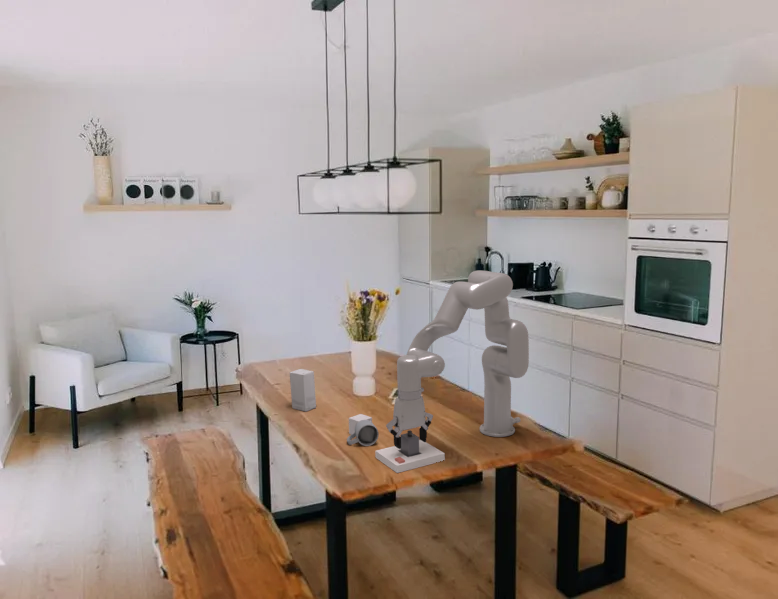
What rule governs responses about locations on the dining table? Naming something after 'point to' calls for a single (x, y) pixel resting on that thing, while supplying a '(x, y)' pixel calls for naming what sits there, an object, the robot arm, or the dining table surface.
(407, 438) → the plug
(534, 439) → the dining table surface
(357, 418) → the light grey cube
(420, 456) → the socket plate
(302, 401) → the skincare box
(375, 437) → the ceramic mug
